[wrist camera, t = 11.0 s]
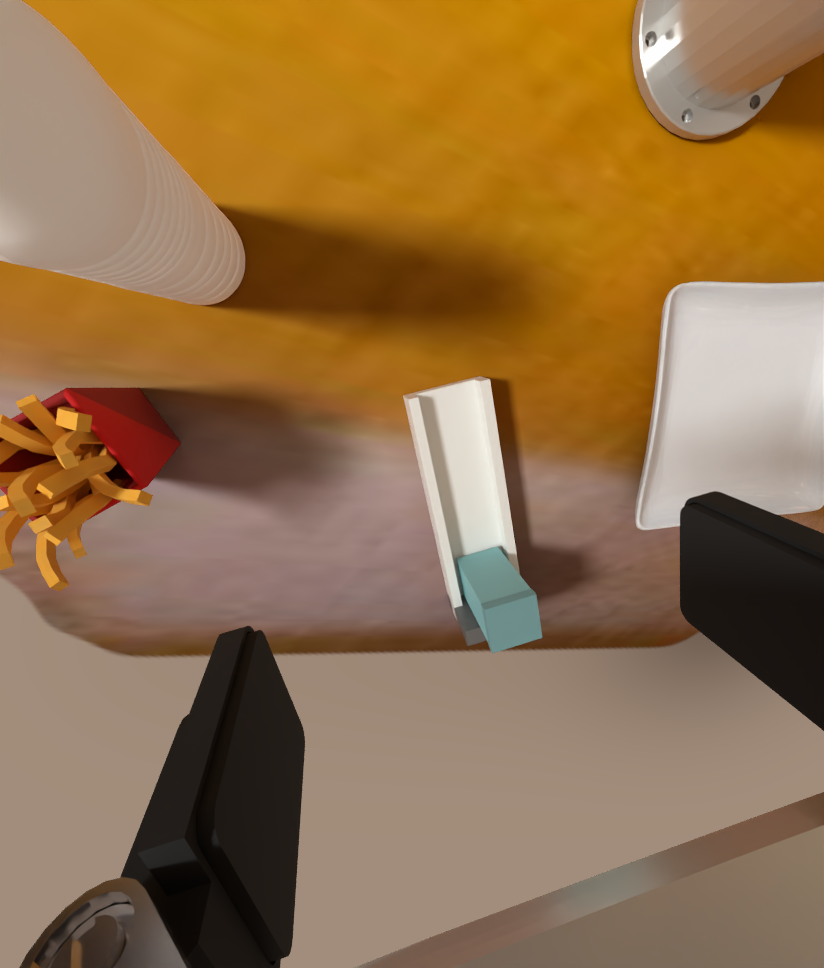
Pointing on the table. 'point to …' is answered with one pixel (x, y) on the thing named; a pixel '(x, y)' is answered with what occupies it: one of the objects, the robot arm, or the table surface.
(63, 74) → the water bottle
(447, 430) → the channel
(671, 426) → the salad plate
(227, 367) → the table surface
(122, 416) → the french fries
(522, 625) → the block
